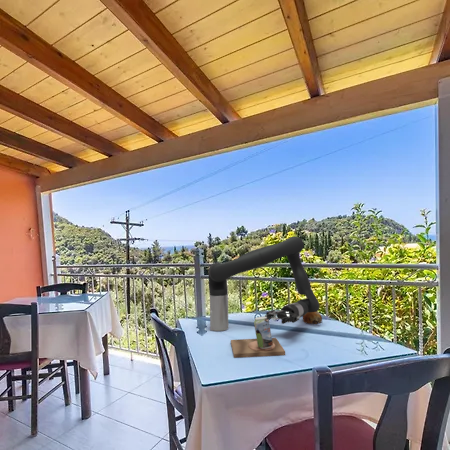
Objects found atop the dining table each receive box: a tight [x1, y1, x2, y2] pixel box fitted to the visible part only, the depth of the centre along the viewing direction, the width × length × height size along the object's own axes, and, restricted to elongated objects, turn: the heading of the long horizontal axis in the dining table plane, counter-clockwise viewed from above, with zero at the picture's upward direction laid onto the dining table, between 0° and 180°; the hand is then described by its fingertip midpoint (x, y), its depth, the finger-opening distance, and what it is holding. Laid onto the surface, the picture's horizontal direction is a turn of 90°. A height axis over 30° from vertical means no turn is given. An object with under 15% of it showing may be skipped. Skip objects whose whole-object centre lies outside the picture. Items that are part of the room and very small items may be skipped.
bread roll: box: [302, 311, 323, 325], centre depth 164 cm, size 10×10×8 cm
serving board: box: [230, 337, 286, 359], centre depth 126 cm, size 20×16×2 cm
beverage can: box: [253, 316, 273, 349], centre depth 123 cm, size 6×7×12 cm
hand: (273, 319), depth 133 cm, fingers open, 8 cm apart
